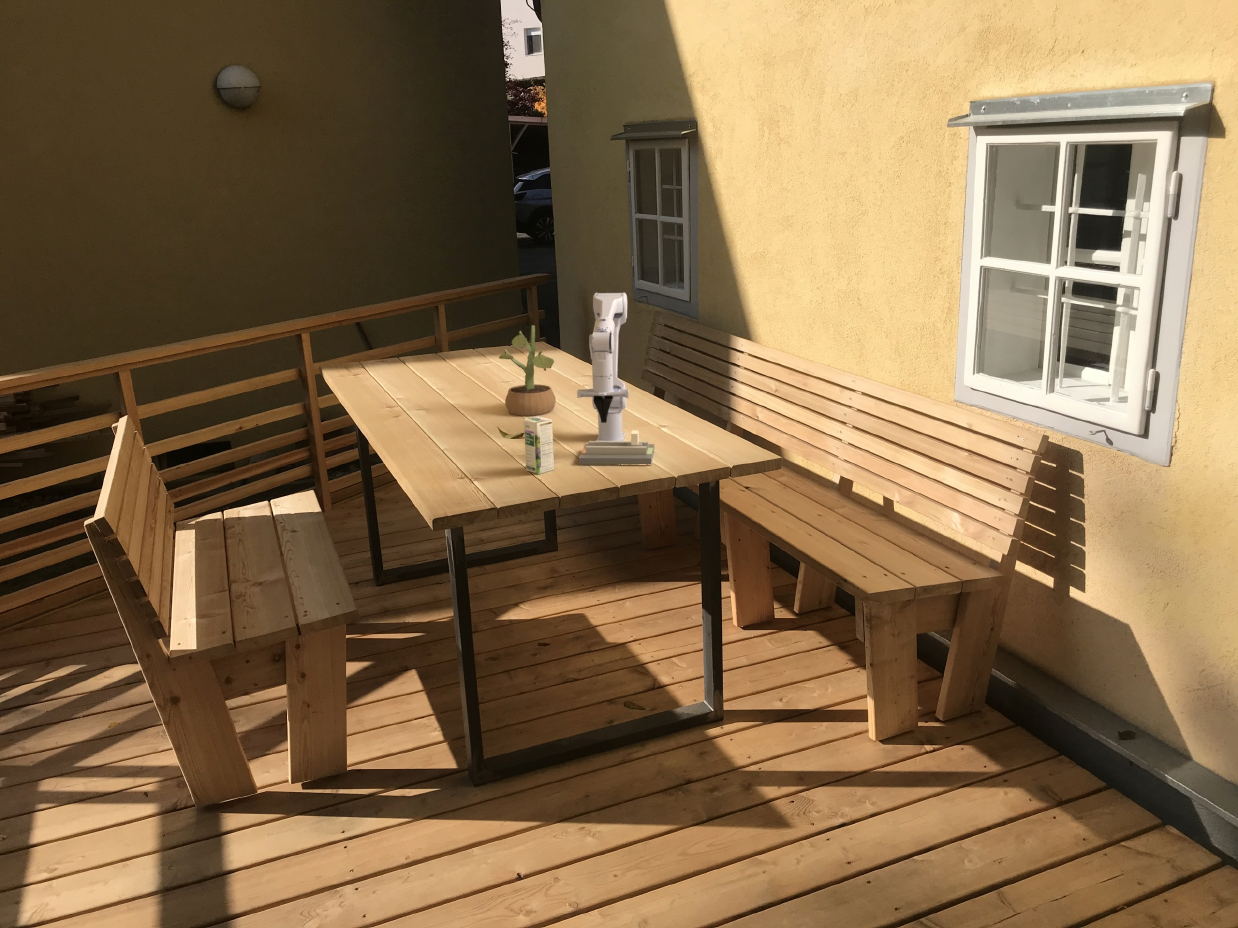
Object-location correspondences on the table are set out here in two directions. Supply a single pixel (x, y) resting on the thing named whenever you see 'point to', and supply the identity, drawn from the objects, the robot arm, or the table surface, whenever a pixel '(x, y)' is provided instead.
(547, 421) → the syrup box
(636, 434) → the breaker handle
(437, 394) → the table surface
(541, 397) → the potted plant
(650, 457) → the breaker panel
